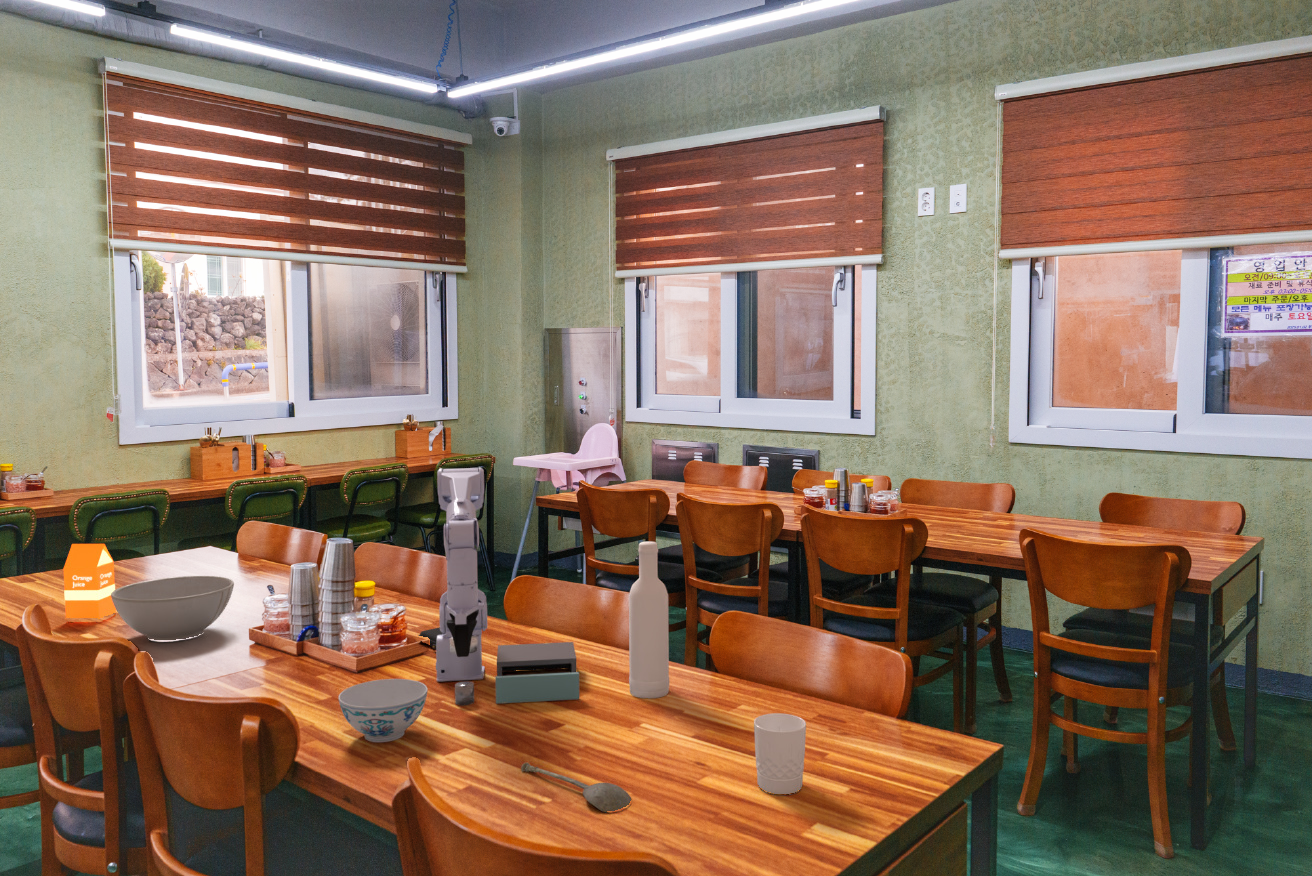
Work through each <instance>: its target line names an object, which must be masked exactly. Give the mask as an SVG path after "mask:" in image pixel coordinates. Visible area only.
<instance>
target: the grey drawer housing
mask: <svg viewBox="0 0 1312 876" xmlns="http://www.w3.org/2000/svg"><path fill="white" fill-rule="evenodd" d="M575 649H576V648H575V645H574V642H573V641H570V642H569V641H567V642H564V641H562V642H546V643H545V642H544V643H543V642H542V643H524V644H523V643H521V644H518V643H517V644H504V645H503V644H501V645H500V644H499V645H498V646H497V655H496V676H504V673H507V672H509V671H511V672H517V671H516V670H531V671H546V670H548V671H550V670H566V669H567V670H568V672H569V673H573V672H578V671H577V670H578V669H577V655H576V651H575ZM509 673H510V672H509Z"/></svg>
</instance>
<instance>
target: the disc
mask: <svg viewBox="0 0 1312 876" xmlns="http://www.w3.org/2000/svg"><path fill="white" fill-rule="evenodd" d="M477 650H478V648H477V636H475V635H472V638H471V645H470V651H469V654H470V653H474V652H476V651H477ZM450 652H451V653H453V654H456V650H455V646H454V641H453V637H451V638H450Z"/></svg>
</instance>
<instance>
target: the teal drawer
mask: <svg viewBox="0 0 1312 876" xmlns="http://www.w3.org/2000/svg"><path fill="white" fill-rule="evenodd" d="M494 678H495V704H496V705H497V704H510V703H513V704H514V703H529V702H547V701H548V702H549V701H550V702H551V701H566V700H567V701H568V700H580V673H579V671H577V672H573V673H570V671H556V672H555V671H554V672H553V671H552V672H537V673H535V672H534V673H517V674H516V673H514V674H513V673H512V674H503V676H497V675H495V677H494Z"/></svg>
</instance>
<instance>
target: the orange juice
mask: <svg viewBox="0 0 1312 876" xmlns="http://www.w3.org/2000/svg"><path fill="white" fill-rule="evenodd" d="M114 562H115V561H114V560H113V557H112V556H111V554H110V552H109V551H108V549H107V546H106V544H105V543H72V544H71V546H70V550H69V552H68V555H67V558H66V559H65V564H64V566H63V582H64V584H63V587H64V590H63V591H64V605H65V606H64V607H65V608H64V609H65V610H64V611H65V619H66V618H98V619H100V618H103V617H104V616H108V615H111V614H113V613H116V614H117V610H116V608H115V606H114V604H113V602H112V599H111V593H112V592H113V591H114V590H116V583H115V565H114V564H115V563H114Z"/></svg>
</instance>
